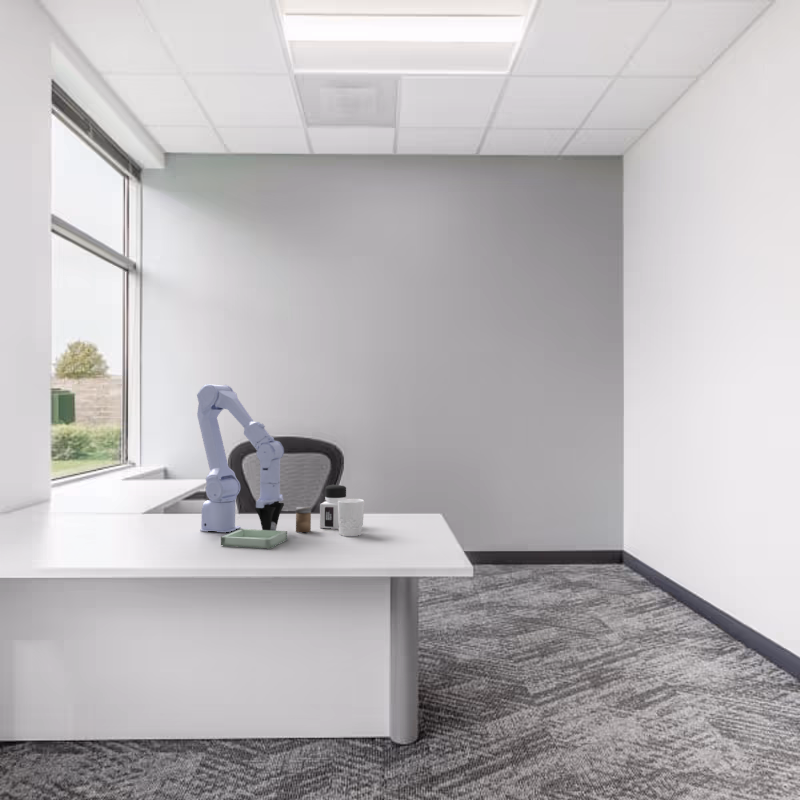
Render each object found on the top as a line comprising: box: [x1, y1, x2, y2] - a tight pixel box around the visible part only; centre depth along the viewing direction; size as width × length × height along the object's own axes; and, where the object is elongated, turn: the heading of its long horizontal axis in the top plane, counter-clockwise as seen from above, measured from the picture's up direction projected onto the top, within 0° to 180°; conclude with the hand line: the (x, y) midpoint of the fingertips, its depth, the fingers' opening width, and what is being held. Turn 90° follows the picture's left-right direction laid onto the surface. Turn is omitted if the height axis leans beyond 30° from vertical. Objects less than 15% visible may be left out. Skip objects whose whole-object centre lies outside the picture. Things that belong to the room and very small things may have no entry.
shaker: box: [295, 506, 312, 534], centre depth 192 cm, size 5×5×7 cm
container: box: [319, 484, 347, 530], centre depth 200 cm, size 8×8×13 cm
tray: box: [220, 528, 288, 550], centre depth 175 cm, size 14×12×2 cm
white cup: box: [338, 498, 365, 537], centre depth 188 cm, size 8×8×10 cm
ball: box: [270, 521, 278, 531], centre depth 187 cm, size 4×4×4 cm
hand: (269, 529), depth 187 cm, fingers closed on ball, 4 cm apart
